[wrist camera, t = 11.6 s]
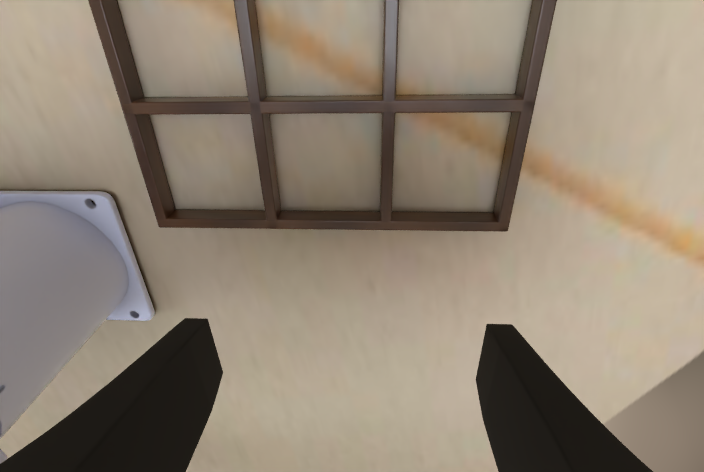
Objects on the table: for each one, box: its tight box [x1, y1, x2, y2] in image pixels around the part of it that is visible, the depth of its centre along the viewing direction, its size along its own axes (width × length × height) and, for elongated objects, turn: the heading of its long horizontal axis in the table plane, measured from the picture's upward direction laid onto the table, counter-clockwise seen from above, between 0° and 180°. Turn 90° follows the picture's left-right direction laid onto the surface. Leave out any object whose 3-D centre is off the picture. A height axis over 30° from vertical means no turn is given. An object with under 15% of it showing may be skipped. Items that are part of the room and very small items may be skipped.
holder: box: [88, 0, 557, 231], centre depth 16 cm, size 16×11×1 cm
